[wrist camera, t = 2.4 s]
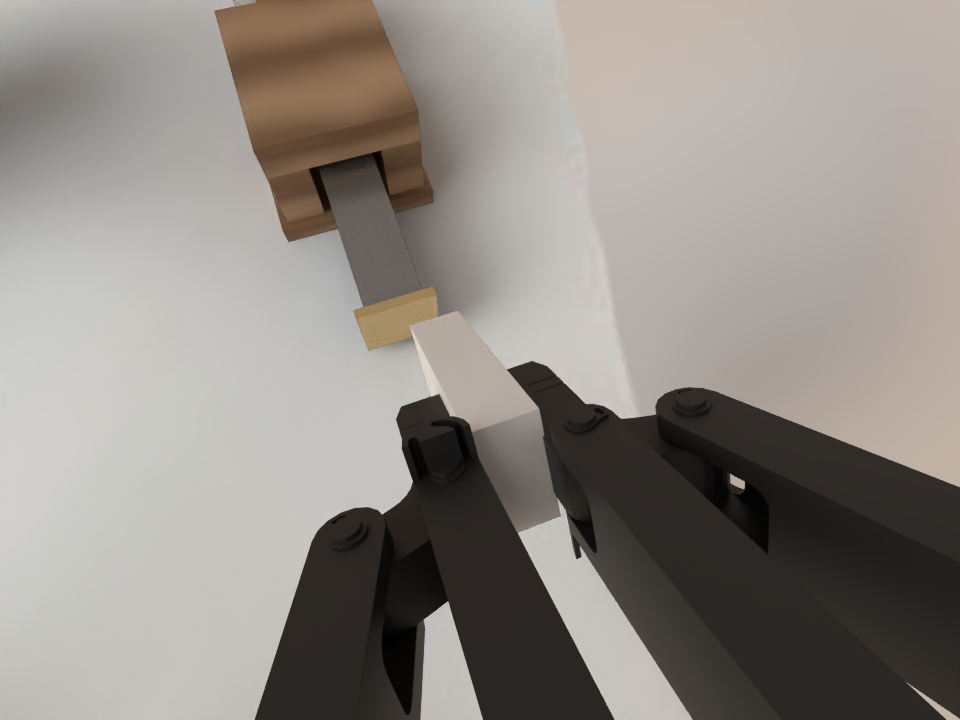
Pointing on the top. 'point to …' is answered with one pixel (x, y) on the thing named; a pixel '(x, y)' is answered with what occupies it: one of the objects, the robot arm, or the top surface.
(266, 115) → the bearing block
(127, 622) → the top surface
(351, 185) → the shaft
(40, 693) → the top surface
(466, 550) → the robot arm
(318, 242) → the top surface
